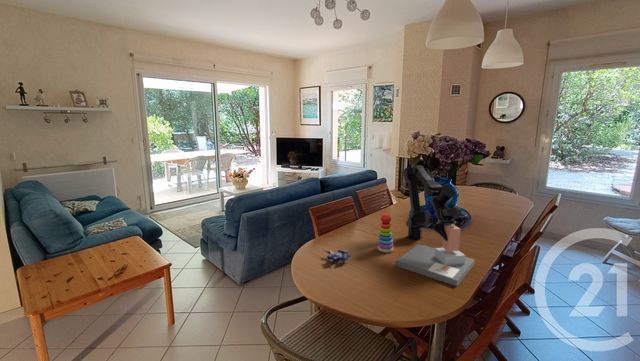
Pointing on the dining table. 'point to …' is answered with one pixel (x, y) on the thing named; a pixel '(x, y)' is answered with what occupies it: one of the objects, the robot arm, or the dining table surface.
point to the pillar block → (451, 238)
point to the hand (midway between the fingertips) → (452, 240)
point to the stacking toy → (385, 235)
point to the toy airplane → (341, 254)
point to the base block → (449, 256)
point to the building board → (434, 265)
